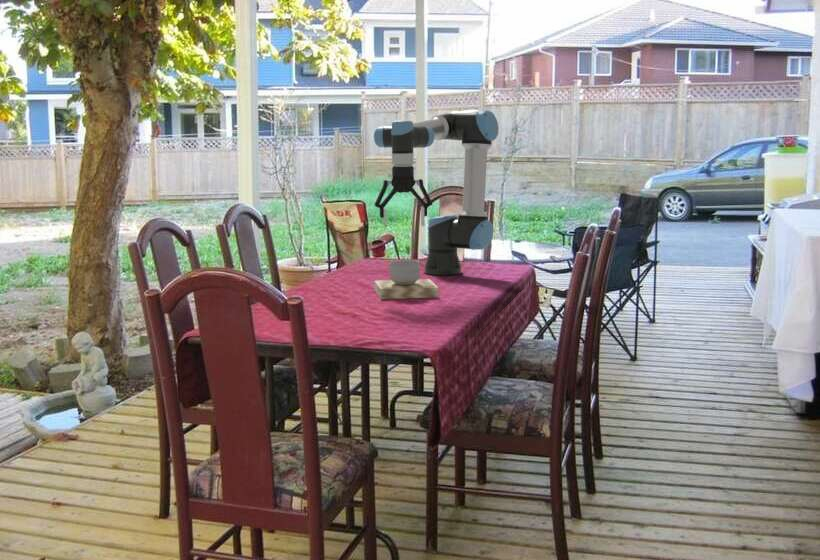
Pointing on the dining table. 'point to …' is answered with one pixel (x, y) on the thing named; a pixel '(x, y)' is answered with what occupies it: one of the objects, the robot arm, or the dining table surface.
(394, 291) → the beige tray
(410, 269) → the teacup
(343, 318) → the dining table surface
